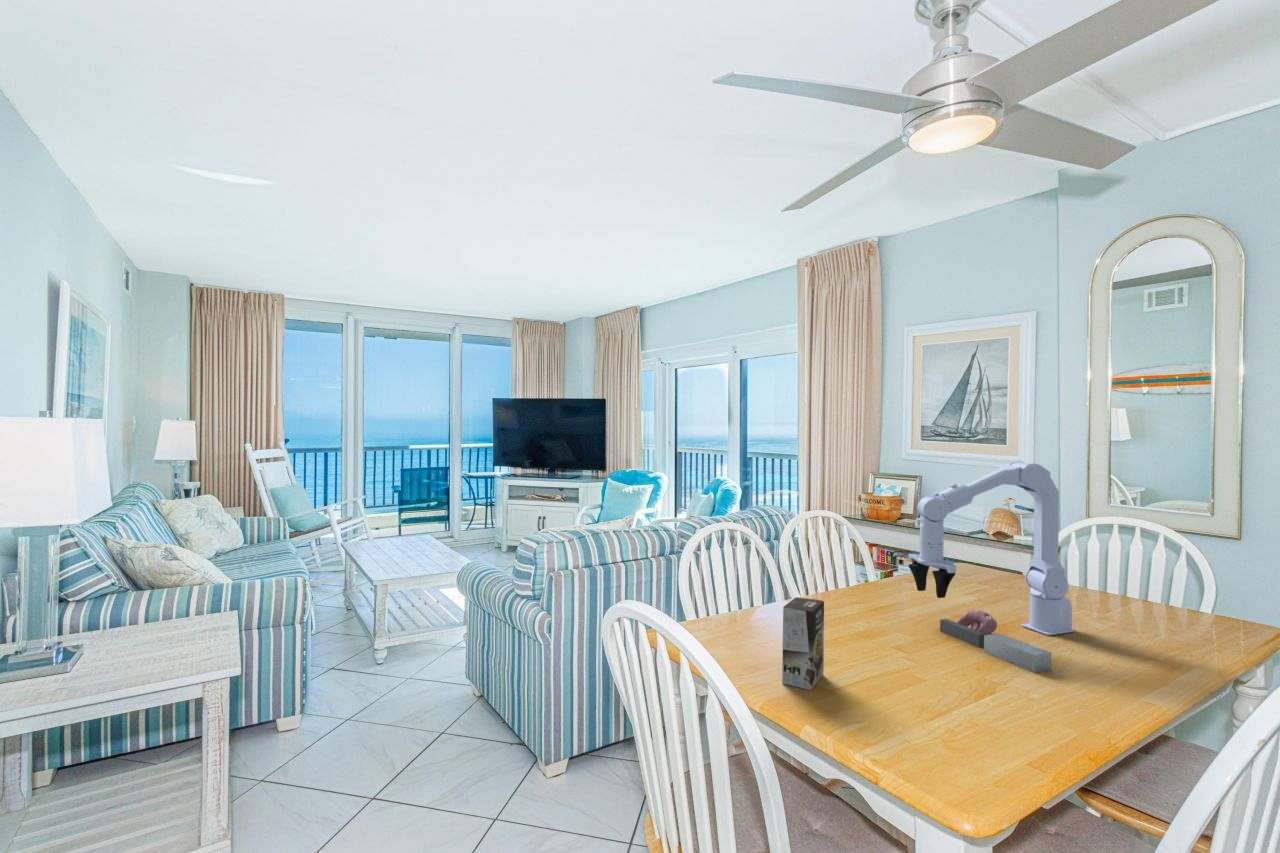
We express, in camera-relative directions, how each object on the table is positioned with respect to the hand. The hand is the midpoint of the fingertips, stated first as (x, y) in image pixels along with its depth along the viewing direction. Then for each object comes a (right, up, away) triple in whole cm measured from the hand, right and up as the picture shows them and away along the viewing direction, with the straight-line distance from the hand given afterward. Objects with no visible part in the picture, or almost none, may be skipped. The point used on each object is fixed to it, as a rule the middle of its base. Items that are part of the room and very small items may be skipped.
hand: (931, 594), depth 166 cm
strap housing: (+8, -9, -24) cm, 26 cm away
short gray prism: (+3, -9, -10) cm, 13 cm away
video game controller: (+9, -9, -6) cm, 14 cm away
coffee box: (-43, -9, -35) cm, 56 cm away
